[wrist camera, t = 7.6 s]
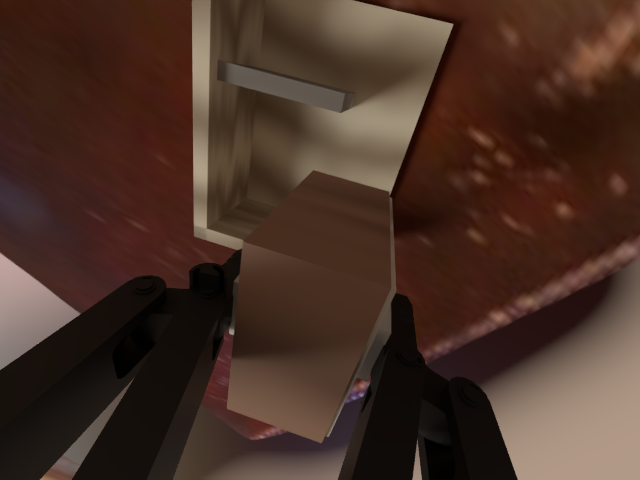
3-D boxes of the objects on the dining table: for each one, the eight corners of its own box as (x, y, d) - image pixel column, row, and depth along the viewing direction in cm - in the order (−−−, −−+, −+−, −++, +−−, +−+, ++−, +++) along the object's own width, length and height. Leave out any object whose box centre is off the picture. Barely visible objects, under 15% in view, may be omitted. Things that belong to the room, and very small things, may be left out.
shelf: (258, -19, 23) (191, -76, 15) (450, 26, 22) (485, -10, 14) (239, 202, 33) (194, 236, 25) (371, 242, 32) (365, 290, 24)
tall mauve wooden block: (313, 170, 14) (242, 241, 7) (393, 192, 14) (399, 290, 7) (288, 288, 18) (226, 408, 11) (350, 308, 18) (326, 444, 11)
